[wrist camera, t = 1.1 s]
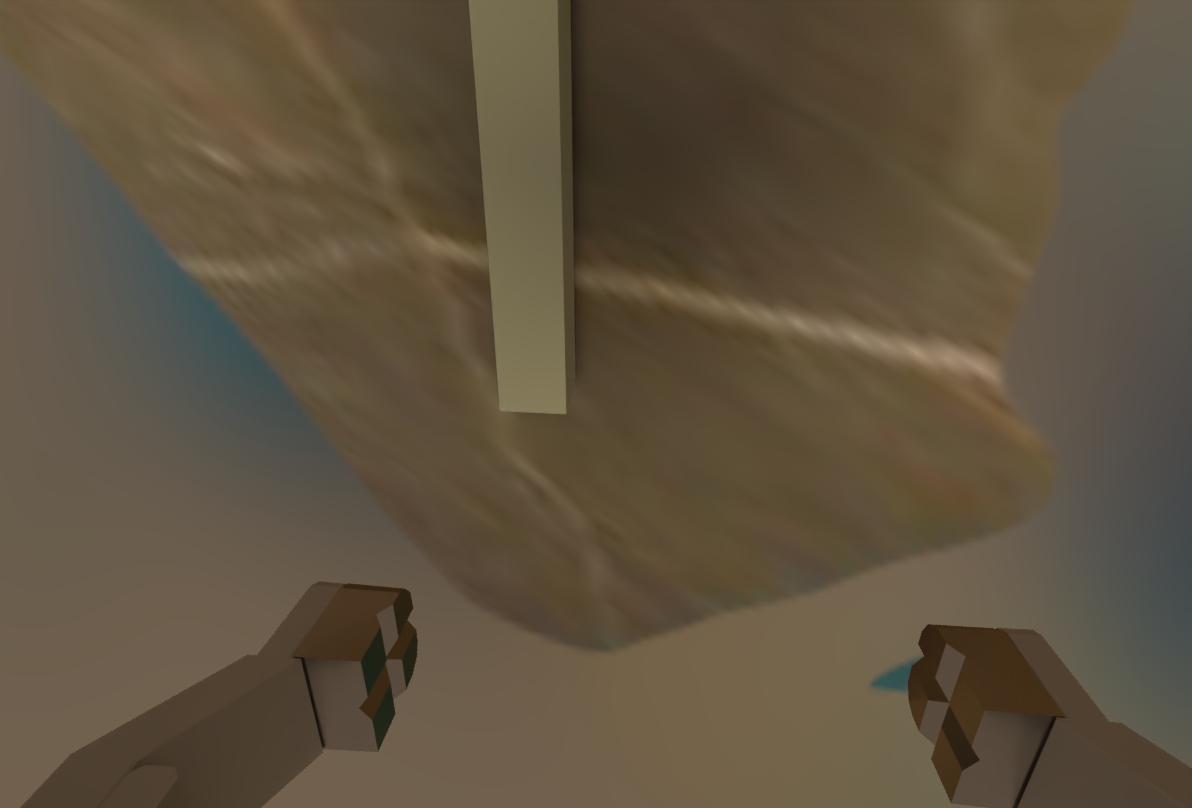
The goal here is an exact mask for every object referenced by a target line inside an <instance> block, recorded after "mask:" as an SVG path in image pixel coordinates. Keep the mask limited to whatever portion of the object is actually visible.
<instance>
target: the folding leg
mask: <svg viewBox="0 0 1192 808" xmlns="http://www.w3.org/2000/svg"><path fill="white" fill-rule="evenodd" d="M469 12H470V25H471V38H472V51H473V64H474V77H475V90H476V104H477V117H478V130H479V143H480V156H481V169H482V182H483V195H484V208H485V221H486V234H487V247H488V260H489V273H490V286H491V300H492V313H493V326H494V339H495V352H496V365H497V378H498V391H499V404H500V411H511V412H533V413H554V414H566V413H567V410H568V406H569V403H570V399H571V395H572V392H573V388H574V385H575V310H574V233H573V156H572V79H571V2H570V0H469Z"/></svg>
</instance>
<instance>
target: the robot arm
mask: <svg viewBox="0 0 1192 808" xmlns="http://www.w3.org/2000/svg"><path fill="white" fill-rule="evenodd" d="M412 610H413V604H412V599H411V593H410V592H409V591H408V590H406V589H403V588H391V587H381V586H370V585H360V584H349V583H348V584H341V583H331V582H321V581H320V582H317V583H315V584H313V585H312V586H310V587H309V589H308V590H307V591H306V592H305V594H304V595H303V596H302V598H301V599H300V600H299V602H298V603H297V604H296V605H295V607H294V608H293V609H292V611H291V612H290V613H289V614H288V616H287V617H286V619H285V620H284V621H283V622H282V624H281V625H280V626H279V627H278V629H277V630H276V631H275V633H274V634H273V635H272V637H271V638H270V639H269V640H268V642H267V643H266V644H265V646H264V647H263V648H262V649H261V651H260V652H259V653H258V655H246V656H244V657H243V658H241V659H239V660H237V661H236V662H234V663H232V664H230V665H228V666H227V667H225V668H223V669H221V670H220V671H218V672H216V673H214V674H213V675H211V676H209V677H207V678H205V679H204V680H202V681H200V682H198V683H196V684H195V685H193V686H191V687H189V688H188V689H186V690H184V691H182V692H181V693H179V694H177V695H175V696H173V697H172V698H170V699H168V700H166V701H164V702H163V703H161V704H159V705H158V706H156V707H154V708H152V709H150V710H148V711H147V712H145V713H143V714H142V715H139V716H138V717H136V718H134V719H132V720H131V721H129V722H127V723H125V724H123V725H122V726H120V727H118V728H117V729H115V730H113V731H111V732H109V733H108V734H106V735H104V736H102V737H100V738H99V739H97V740H95V741H93V742H91V743H90V744H88V745H86V746H84V747H83V748H81V749H79V750H77V751H76V752H74V753H72V754H71V755H70V756H69V757H68V758H67V759H66V760H65V761H64V762H63V763H62V764H61V765H60V766H59V767H58V768H57V769H56V770H55V771H54V772H53V773H52V775H51V776H50V777H49V778H48V779H47V780H46V781H45V782H44V783H43V784H42V785H41V786H40V787H39V788H38V789H37V791H35V792H34V794H33V795H32V796H31V797H30V798H29V799H28V800H27V801H26V802H25V803H24V804H23V805H22V806H21V807H20V808H261V807H262V806H263V805H264V804H266V803H267V802H268V801H269V800H270V799H271V798H272V797H273V796H275V795H276V794H277V793H278V792H279V791H280V790H281V789H282V788H284V786H286V785H287V784H288V783H289V782H290V781H291V780H293V779H294V778H295V777H296V776H297V775H298V774H299V773H300V772H302V771H303V770H304V769H305V768H306V767H307V766H308V765H309V764H310V763H312V762H313V761H314V760H315V759H316V758H317V757H318V756H320V755H321V754H322V753H323V749H336V750H354V751H370V752H378V751H379V749H380V747H381V744H382V742H383V740H384V738H385V736H386V734H387V731H388V729H389V727H390V725H391V723H392V720H393V718H394V716H395V708H394V701H393V699H394V698H396V697H397V696H399V695H400V694H401V693H403V692H404V691H405V690H406V689H407V687H408V684H409V682H410V680H411V677H412V675H413V671H414V667H415V662H416V658H417V646H418V645H417V644H418V640H417V632H416V629H415V628H414V627H413V626H412V624H410V622H409V621H408V618H409V616H410V613H411V612H412ZM918 644H919V647H920V649H921V650H922V652H923V654H924V657H923V658H921V659H920V660H919V661H917V662H916V663H915V664H913V665H912V667H911V671H910V675H909V680H908V698H909V704H910V708H911V712H912V716H913V718H914V721H915V723H916V725H917V728H918V730H919V732H920V733H922V734H923V735H924V736H925V737H926V738H927V739H929V740H930V741H931V742H932V743H933V744H934V745H935V749H934V752H933V755H932V758H931V760H932V762H933V764H934V766H935V768H936V770H937V773H938V775H939V777H940V780H941V782H942V784H943V786H944V788H945V791H946V793H947V795H948V797H949V800H950V802H951V803H953V804H962V805H970V806H980V807H988V808H1192V768H1190V767H1189V766H1187V765H1186V764H1184V763H1183V762H1181V761H1180V760H1178V759H1176V758H1175V757H1173V756H1172V755H1170V754H1169V753H1167V752H1166V751H1164V750H1162V749H1161V748H1159V747H1158V746H1156V745H1155V744H1153V743H1152V742H1150V741H1149V740H1147V739H1145V738H1144V737H1142V736H1141V735H1139V734H1138V733H1136V732H1135V731H1133V730H1131V729H1130V728H1128V727H1127V726H1125V725H1124V724H1122V723H1116V722H1109V721H1108V719H1107V718H1106V717H1105V716H1104V714H1103V713H1102V712H1101V711H1100V709H1099V708H1098V707H1097V705H1096V704H1095V703H1094V702H1093V700H1092V699H1091V698H1090V696H1089V695H1088V694H1087V693H1086V691H1085V690H1084V689H1083V688H1082V686H1081V685H1080V684H1079V682H1078V681H1077V680H1076V679H1075V677H1074V676H1073V675H1072V673H1071V672H1070V671H1069V669H1068V668H1067V667H1066V666H1065V665H1064V663H1063V662H1062V661H1061V659H1060V658H1059V657H1058V655H1057V654H1056V653H1055V652H1054V650H1053V649H1052V648H1051V646H1050V645H1049V644H1048V643H1047V641H1046V640H1045V639H1044V638H1043V636H1041V635H1040V634H1039V633H1037V632H1035V631H1034V630H1027V629H1007V628H997V629H993V628H980V627H963V626H947V625H931V624H928V625H927V626H926V627H925V628H924V630H923V631H922V633H921V636H920V639H919V643H918Z"/></svg>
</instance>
